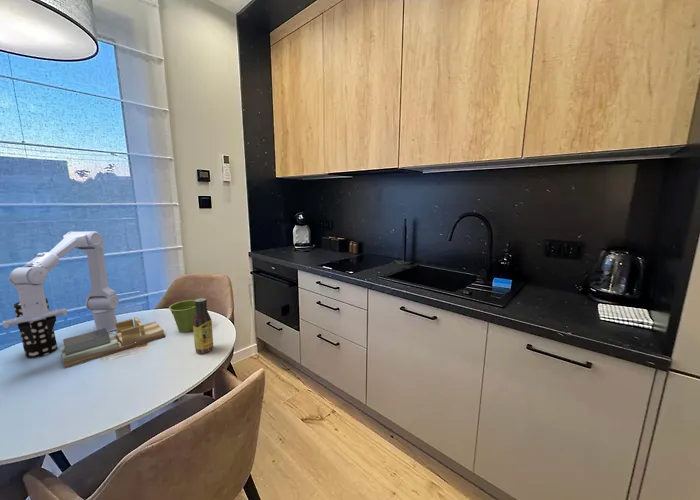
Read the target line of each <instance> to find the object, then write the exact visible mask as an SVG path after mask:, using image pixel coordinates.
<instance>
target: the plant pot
mask: <svg viewBox="0 0 700 500" xmlns="http://www.w3.org/2000/svg"><path fill="white" fill-rule="evenodd" d="M195 300H196V299H190V300H189V299H188V300H182V301H181V300H180V301H178V302H175V303H172V304H171V305H170V306H169V307H168V310H169V311H171V312H170V313H171V314H172V316H173V318H174V321H175V325H176V327H177V329H178V331H179V333H189V332H191V331H193V317H194V315H195V313H196V308H195V303H194V301H195Z"/></svg>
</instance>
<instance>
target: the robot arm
mask: <svg viewBox="0 0 700 500" xmlns="http://www.w3.org/2000/svg"><path fill="white" fill-rule="evenodd" d="M103 239H104V238H103V235H102V234H101V233H99V232H98V231H96V230H92V231H90V230H89V231H68V232H67V233H65V234H64V235H62V239H61V241H59V242H58V243H57V244H56V245H55V246H54V247H53V248H52V249H50V251H48V252H47V251H44V252H39V253H37V254H36V256H35V257H33V259H31V260H30V261H27V262H26V263H25V265H23V266H21V267H16V268H14V269H13V270H12V271H11V272H10V274H9V277H8V278H7V279H8V282H9V283H10V284H11V285H12V286H14V289H15V290H16V291H17V295H18V298H19V302H20V304H21V308H22V313H23V316H21V317H18V318H17V317H14V318H10V319H6V320H3V321H2V326H3V328H4V329H8V328H10V327H14V326H17V328H18V329H20V330H21V331H22V332H23V333H24V334H25V335H26V336H27V337H28V338H29V340H30V341H31V344H34V343H35V341H34V337H33V334H32V331H31V327H30V322H33V321H38V320H42V319H46V324H47V328H48V337H49V339H52V331H53V328H54V326H55V325H56V322H57V317H59V316H60V317H61V316H68V310H67V308H60V309H52V310H51V309H50V311H48V308H47V303H46V299H45V298H46V295H45V291H44V284H43V283H45V281H46V279H47V277H48V276H47V275H48V274H49V273H50V271H52V270H53V269H54V268H55V267H56V266H57V265H59V263H60V258H62V257H64V256H65V255H67V254H68V253H69V252H71V251H72V250H75V249H77V250H81V251H82V252H84V253H85V254H86V256H87V262H88V263H87V264H88V270H89V278H90V287H91V290H89V292H88V293H86V301H85V307H86V309H87V310H88V311H90V312H91V313H92V315H93V320H94V324H95V326H94V327H93V331H97V330H100V329H104V328H106V330H107V332H108V333H112V332H114V331H117V328H116V323H118V321H117V316H116V315H117V313H116V309H117V307H118V306H119V302H120V301H119V297H118V296H117V291H115V289H112V288H111V287H109V282H108V275H107V267H106V260H105V251H104V248H105V246H104V240H103ZM20 330H19V331H20Z"/></svg>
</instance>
